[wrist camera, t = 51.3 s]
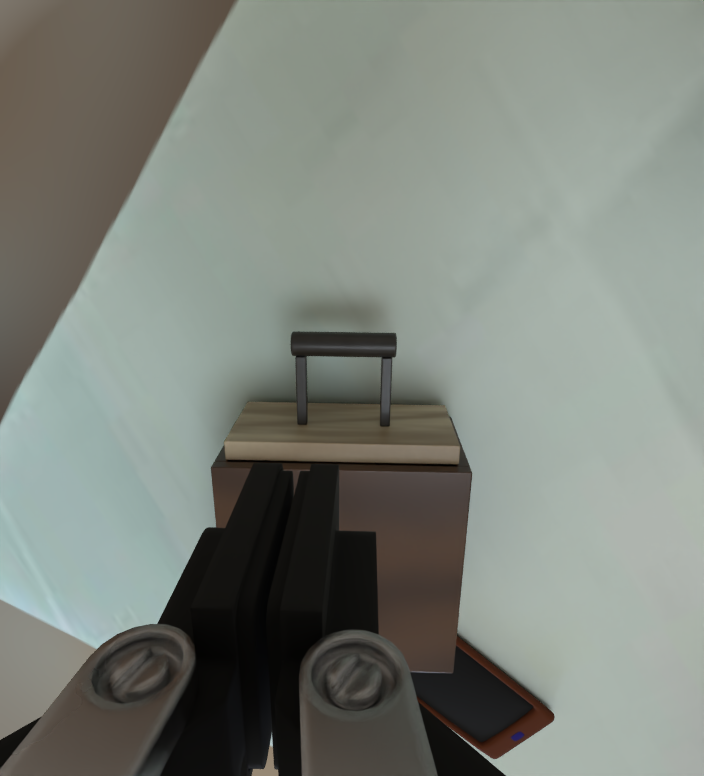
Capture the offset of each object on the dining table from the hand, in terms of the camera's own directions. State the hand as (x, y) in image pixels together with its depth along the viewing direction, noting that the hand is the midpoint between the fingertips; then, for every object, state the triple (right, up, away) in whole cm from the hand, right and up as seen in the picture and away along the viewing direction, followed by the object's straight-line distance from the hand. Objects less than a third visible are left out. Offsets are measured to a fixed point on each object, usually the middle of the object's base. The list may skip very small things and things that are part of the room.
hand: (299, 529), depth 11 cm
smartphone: (+10, -22, +34) cm, 42 cm away
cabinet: (+1, -6, +29) cm, 29 cm away
